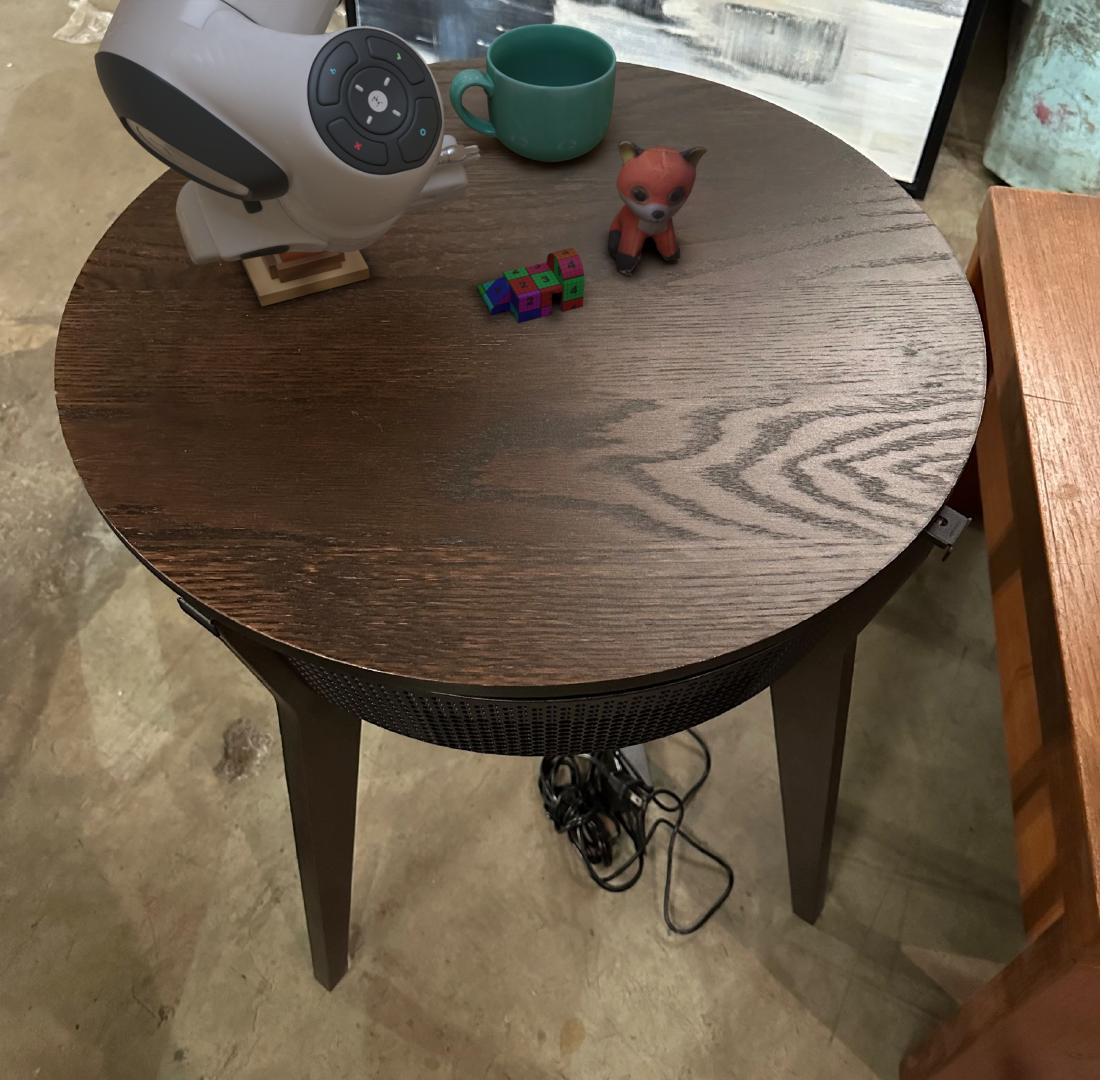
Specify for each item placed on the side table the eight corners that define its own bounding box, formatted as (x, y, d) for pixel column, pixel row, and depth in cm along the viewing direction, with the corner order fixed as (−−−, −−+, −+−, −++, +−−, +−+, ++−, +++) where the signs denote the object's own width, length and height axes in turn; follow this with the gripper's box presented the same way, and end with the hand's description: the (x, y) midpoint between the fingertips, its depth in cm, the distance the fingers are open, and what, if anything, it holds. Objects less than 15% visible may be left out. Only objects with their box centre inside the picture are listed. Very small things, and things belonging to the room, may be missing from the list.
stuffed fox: (675, 208, 101) (692, 92, 91) (694, 282, 94) (714, 165, 84) (599, 210, 100) (607, 93, 91) (612, 284, 93) (622, 167, 84)
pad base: (261, 307, 90) (236, 206, 82) (213, 197, 100) (186, 98, 92) (370, 278, 93) (356, 178, 85) (312, 174, 103) (295, 75, 95)
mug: (593, 105, 112) (599, 17, 104) (623, 171, 104) (631, 81, 97) (442, 120, 109) (436, 31, 102) (462, 188, 102) (457, 98, 94)
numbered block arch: (559, 269, 95) (560, 228, 91) (582, 306, 92) (585, 264, 88) (477, 290, 93) (475, 248, 89) (499, 327, 90) (498, 286, 86)
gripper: (473, 96, 68) (430, 152, 82) (163, 162, 63) (170, 211, 76) (500, 191, 70) (453, 231, 83) (198, 265, 64) (199, 295, 77)
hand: (315, 222), depth 79 cm, fingers open, 8 cm apart
